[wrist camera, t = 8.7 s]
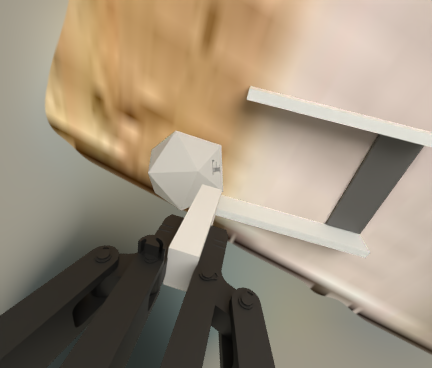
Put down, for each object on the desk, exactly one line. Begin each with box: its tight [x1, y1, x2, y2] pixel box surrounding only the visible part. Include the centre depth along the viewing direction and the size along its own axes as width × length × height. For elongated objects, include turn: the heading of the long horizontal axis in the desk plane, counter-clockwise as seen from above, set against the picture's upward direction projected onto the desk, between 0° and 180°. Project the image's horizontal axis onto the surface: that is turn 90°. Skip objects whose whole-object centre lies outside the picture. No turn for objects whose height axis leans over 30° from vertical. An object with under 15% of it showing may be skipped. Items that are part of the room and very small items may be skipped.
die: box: [148, 131, 223, 210], centre depth 25 cm, size 8×9×10 cm
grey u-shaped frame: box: [216, 86, 432, 258], centre depth 25 cm, size 19×15×4 cm
